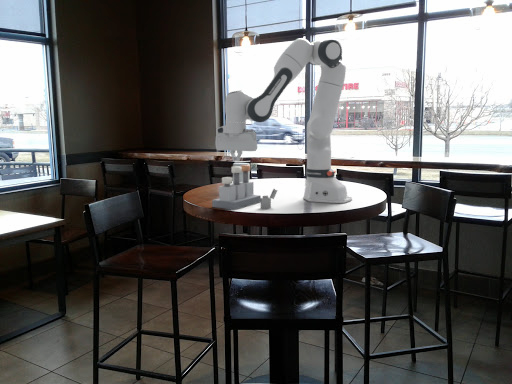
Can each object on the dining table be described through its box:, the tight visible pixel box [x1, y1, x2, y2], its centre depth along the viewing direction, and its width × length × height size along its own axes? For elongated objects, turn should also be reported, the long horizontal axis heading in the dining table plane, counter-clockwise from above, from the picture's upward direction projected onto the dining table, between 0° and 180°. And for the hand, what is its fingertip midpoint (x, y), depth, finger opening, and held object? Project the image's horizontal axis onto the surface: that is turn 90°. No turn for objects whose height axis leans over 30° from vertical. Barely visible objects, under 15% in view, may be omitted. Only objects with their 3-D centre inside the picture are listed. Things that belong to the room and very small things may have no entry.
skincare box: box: [232, 162, 251, 184], centre depth 233 cm, size 8×6×15 cm
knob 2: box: [241, 164, 251, 183], centre depth 201 cm, size 4×4×9 cm
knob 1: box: [221, 176, 233, 187], centre depth 190 cm, size 4×4×9 cm
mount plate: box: [211, 181, 262, 211], centre depth 196 cm, size 12×20×9 cm, turn 147°
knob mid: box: [231, 166, 242, 185], centre depth 195 cm, size 4×4×9 cm
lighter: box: [260, 188, 278, 209], centre depth 188 cm, size 7×2×8 cm, turn 105°
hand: (236, 161), depth 194 cm, fingers closed
